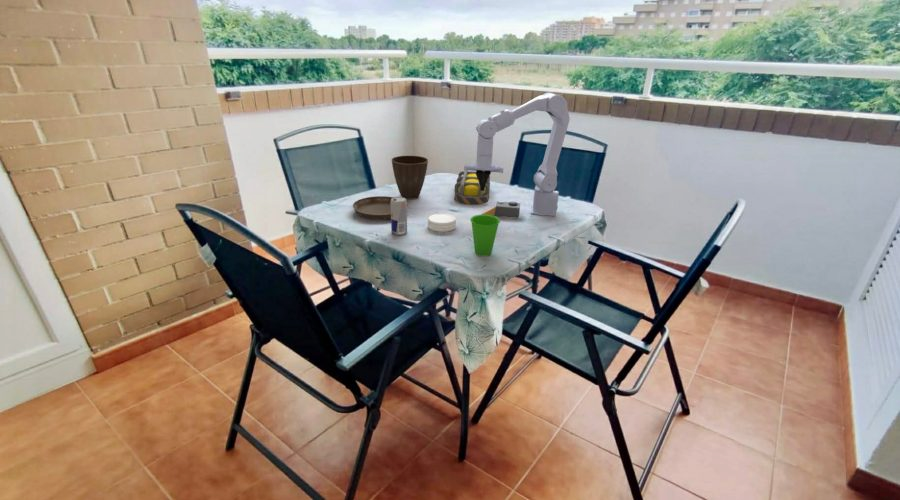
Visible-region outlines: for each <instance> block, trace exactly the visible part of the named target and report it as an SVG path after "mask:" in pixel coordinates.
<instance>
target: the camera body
mask: <svg viewBox="0 0 900 500" xmlns="http://www.w3.org/2000/svg"><path fill="white" fill-rule="evenodd" d="M495 207H496V213H495V215H494V216H495V217H499V218H500V217H501V218H512V219H514V218H515V219H520V209H521V203H520V202H517V201H503V200H501V201H500V200H499V201H496V204H495Z"/></svg>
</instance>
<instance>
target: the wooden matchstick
mask: <svg viewBox="0 0 900 500" xmlns="http://www.w3.org/2000/svg"><path fill="white" fill-rule="evenodd" d="M495 213H496V205H495V206H493V207H491V208H489V209H487V210H485V211H483V212H482V213H481V214H480V215H492V216H494V215H495Z"/></svg>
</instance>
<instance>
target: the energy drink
mask: <svg viewBox="0 0 900 500" xmlns="http://www.w3.org/2000/svg"><path fill="white" fill-rule="evenodd" d="M393 197H394V196H393ZM390 204H391V219H390V225H391V227H390V228H391V233H392V235H395V236H404V235H406V234H407V233H408V210H407V209H408V203H407V199H406V198H404V197H401V196H395V197H394V198H392V199H391V202H390Z"/></svg>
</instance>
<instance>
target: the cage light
mask: <svg viewBox="0 0 900 500" xmlns="http://www.w3.org/2000/svg"><path fill="white" fill-rule="evenodd" d="M490 176H491V175H490ZM490 176H489V178H488V180H487V182H486V185H485V190H484V191H480V184H479V181H478V178H477V176H476V171H472V170H467V171H465V170H462V171H460V172H459V173H458V177H457V179H456V183H455V184H454V197H453V198H454V199H453V200H454V201H455V202H456V203H458V204H461V205H468V206H479V205H485V204H487V203H489V201H490V189H491V182H490V181H491V180H490V179H491V177H490Z"/></svg>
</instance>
